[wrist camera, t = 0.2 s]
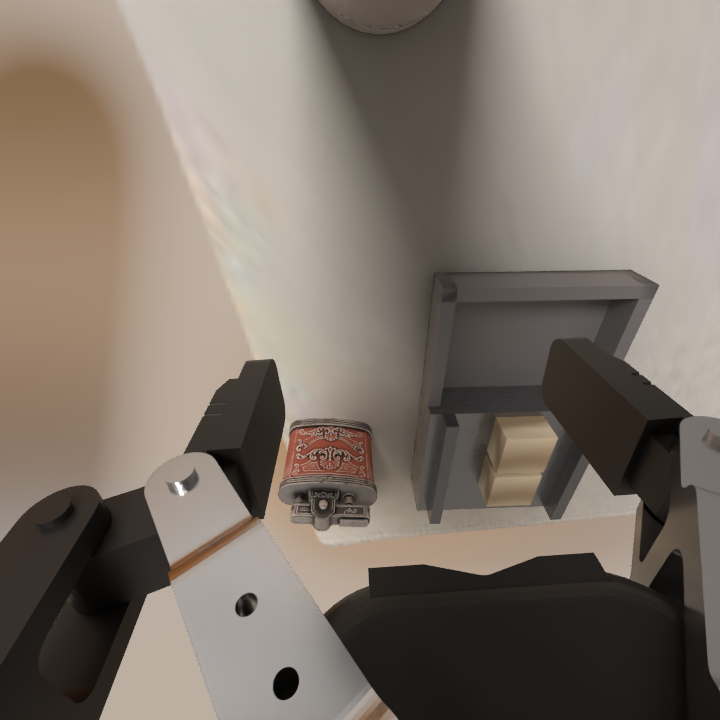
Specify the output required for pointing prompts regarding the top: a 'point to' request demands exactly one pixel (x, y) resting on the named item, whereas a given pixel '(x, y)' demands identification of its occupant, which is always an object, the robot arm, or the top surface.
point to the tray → (524, 323)
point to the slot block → (484, 449)
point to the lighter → (329, 473)
